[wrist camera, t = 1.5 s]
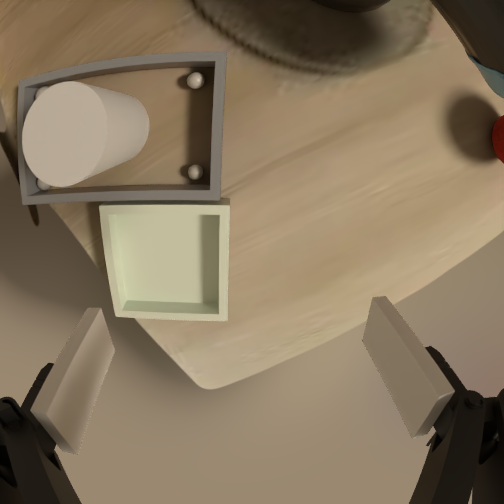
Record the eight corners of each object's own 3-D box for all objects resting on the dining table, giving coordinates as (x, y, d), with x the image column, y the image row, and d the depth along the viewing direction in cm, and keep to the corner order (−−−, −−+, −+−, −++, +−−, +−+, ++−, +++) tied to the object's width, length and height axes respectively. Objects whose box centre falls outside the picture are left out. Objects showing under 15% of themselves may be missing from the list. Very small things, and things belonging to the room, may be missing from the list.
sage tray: (108, 198, 32) (98, 205, 29) (229, 198, 33) (230, 205, 30) (122, 303, 37) (115, 316, 35) (227, 307, 39) (227, 321, 36)
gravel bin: (32, 82, 25) (18, 81, 22) (226, 58, 27) (226, 52, 24) (35, 198, 31) (22, 205, 28) (220, 193, 33) (220, 200, 30)
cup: (71, 130, 28) (8, 139, 17) (119, 78, 27) (67, 60, 16) (112, 179, 31) (61, 208, 20) (164, 128, 30) (129, 131, 19)
